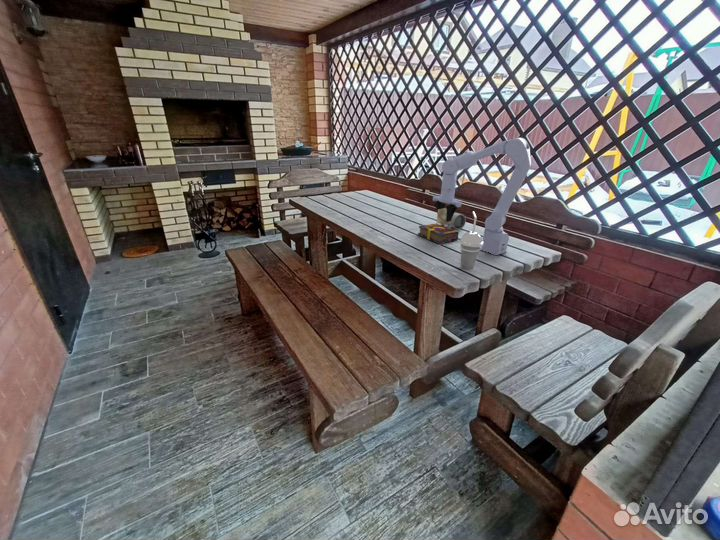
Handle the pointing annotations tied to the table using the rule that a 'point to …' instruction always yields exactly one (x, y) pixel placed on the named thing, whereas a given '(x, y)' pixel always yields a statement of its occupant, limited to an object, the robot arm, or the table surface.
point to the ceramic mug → (457, 221)
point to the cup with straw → (470, 247)
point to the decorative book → (438, 233)
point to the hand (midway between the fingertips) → (444, 219)
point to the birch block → (442, 217)
